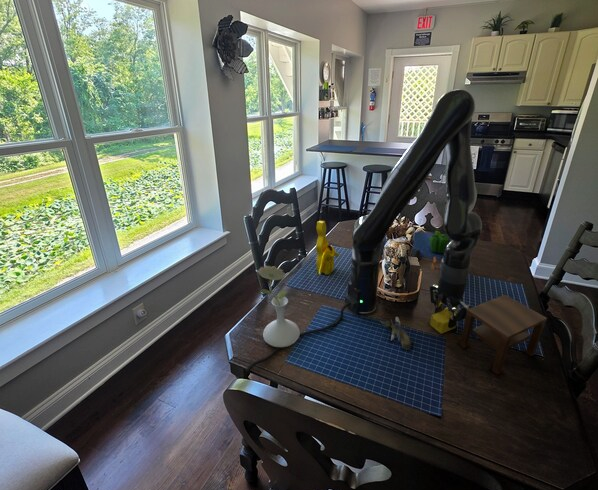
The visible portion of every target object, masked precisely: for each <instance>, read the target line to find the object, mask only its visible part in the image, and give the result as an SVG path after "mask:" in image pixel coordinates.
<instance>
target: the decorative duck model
mask: <svg viewBox="0 0 598 490" xmlns="http://www.w3.org/2000/svg"><path fill="white" fill-rule="evenodd" d="M432 260H433V262H432V264H431V265H430V266H431V267H430V268H431V271H433V270H439V271H440V269H441V265H442V263H443V258H442V259H441V260H437V256H436V255H434V257H432ZM435 263H440V265H439V267H438V268H436V267H435Z"/></svg>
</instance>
